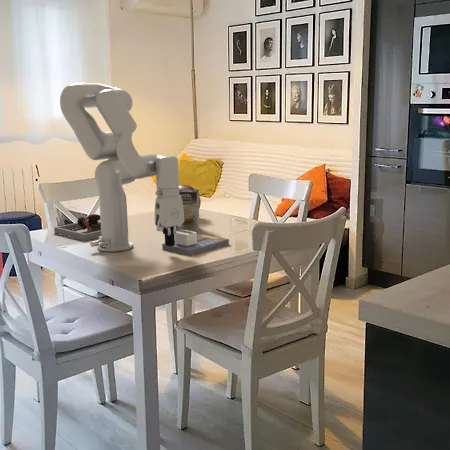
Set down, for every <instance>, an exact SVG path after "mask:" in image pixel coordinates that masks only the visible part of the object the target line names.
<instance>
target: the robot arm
mask: <svg viewBox="0 0 450 450" xmlns="http://www.w3.org/2000/svg"><path fill="white" fill-rule="evenodd" d="M59 106H60V110H61V113H62V115H63V117H64V118H65V121H66V122H67V123H68V124H69V125H68V126H70V128H71V129H72V131H73V133H74V134H75V136H76V139H77V140H78V142H79V144H80V145H81V147H82V149H83V150H84V152H85V155H86V156H87V157H88V158H89V159H90V160H92V161H101V162H100V163H99V164H98V165H97V166H96V168H95V171H94V179H95V183H96V188H97V192H98V204H99V215H100V220H99V222H101V236H100V237H99V238H97V240H92V241H91V242H90V243H89V244H90V247H91V248H94V247H97V249H98V250H99V251H101V252H108V253H109V252H110V253H111V252H113V253H114V252H123V251H127V250H130V249H132V248H133V247H134V243H133V242H132V241H129V225H128V205H127V196H126V195H127V194H126V192H125V189H124V187H123V186H124V185H127V184H128V185H129V184H130V183H133V182H135V180H141V179H144V178H145V179H146V178H150V177H154V176H155V179H156V180H155V181H156V183H155V184H156V191H155V195H156V197H155V201H154V202H155V203H154V223H155V224H154V225H155V226H156V231H158V232H162V234H163V235H164V243H165V245H166V246H170V247H171V246H175V234H176V232H177V231H176V230H177V228H179V227H180V226H181V225H182V224H183V223H184V209H183V202H182V198H181V196H180V195H179V185H180V178H179V177H180V176H179V159H178V157H177V156H175V155H160V154H156V153H150V154H149V153H147V154H143V155H140V154H139V153H138V151H137V149H136V148H135V145H134V143H133V137H132V136H133V133H134V132H135V131H136V130H137V129H138V125H137V123H136V120H135V119H134V118H133V116H132V115H131V113H130V111H131V110H132V108H133V98H132V96H131V94H130V93H129V92H128V91H127V90H124V89H123V88H117V87H113V86H110V85H105V84H103V83H102V84H101V83H93V82H87V83H86V82H76V83H75V82H74V83H69V84H68V85H67V86H65V87H64V88H63V90H62V91H61V94H60V98H59ZM87 108H97V110H98V112H99V113H100V115H101V117H102V118H103V119H104V121H105V123H106V124H107V127H108V128H109V129H110V131H103V130H102V129H101V128H100V126H99V125H98V123H97V121H96V120H95V119H96V118H94V117H93V116H92V115H91V114H90V113H89V112H88V111H87V110H86V109H87ZM102 160H103V161H102Z"/></svg>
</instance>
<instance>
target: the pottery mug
mask: <svg viewBox="0 0 450 450" xmlns="http://www.w3.org/2000/svg"><path fill="white" fill-rule="evenodd" d="M98 221H100V214H95V213H94V214H93V213H92V214H89V215H87V216H86V217H84V216H79V217H78V218H77V221H76V223H78V224H79V225H80V226H81V227H82V228H81V229H82V230H83V231H86V233H91V232H95V231H100V230H101V223H100V224H98Z"/></svg>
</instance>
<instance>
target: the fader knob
mask: <svg viewBox="0 0 450 450" xmlns="http://www.w3.org/2000/svg"><path fill="white" fill-rule="evenodd" d="M197 234H198V232H197V231H188V230H181V229H180V230H179V231H176V234H174V235H175V244H180V245H184V246H190V245H193V244H197Z"/></svg>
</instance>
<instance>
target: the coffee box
mask: <svg viewBox="0 0 450 450" xmlns="http://www.w3.org/2000/svg"><path fill="white" fill-rule="evenodd" d="M199 191H200V190H199V189H195V190H186V189H179V195H180V196H181V198H182V202H183V209H184V223H183V224H182V225H181V226H180V227H179V228H177V230H176V232H179V230H180V229H181V230H188V231H193V232H197V231H199V229H200V208H199V196H200V192H199Z"/></svg>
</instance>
